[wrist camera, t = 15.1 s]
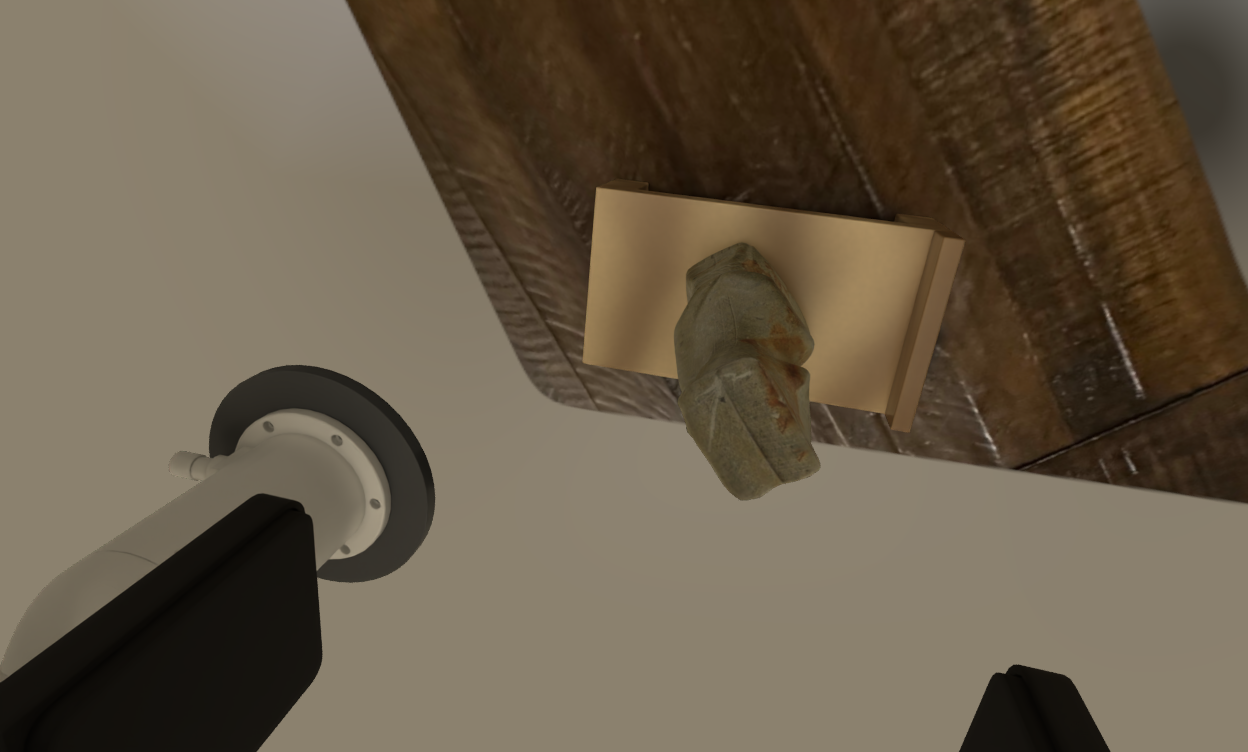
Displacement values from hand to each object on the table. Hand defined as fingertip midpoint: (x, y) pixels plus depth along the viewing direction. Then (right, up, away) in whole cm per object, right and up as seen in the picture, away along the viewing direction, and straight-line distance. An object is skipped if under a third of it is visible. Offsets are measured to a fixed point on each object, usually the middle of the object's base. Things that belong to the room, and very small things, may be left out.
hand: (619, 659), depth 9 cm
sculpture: (+7, +8, +27) cm, 29 cm away
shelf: (+8, +9, +31) cm, 34 cm away
